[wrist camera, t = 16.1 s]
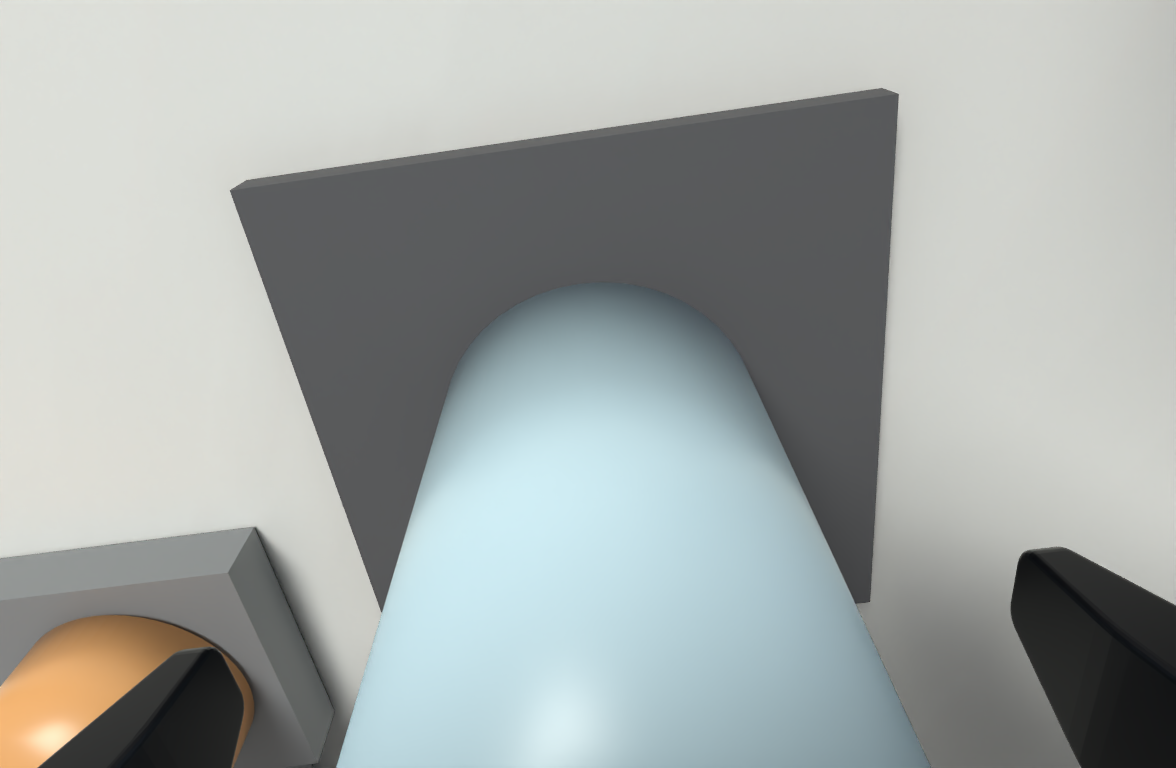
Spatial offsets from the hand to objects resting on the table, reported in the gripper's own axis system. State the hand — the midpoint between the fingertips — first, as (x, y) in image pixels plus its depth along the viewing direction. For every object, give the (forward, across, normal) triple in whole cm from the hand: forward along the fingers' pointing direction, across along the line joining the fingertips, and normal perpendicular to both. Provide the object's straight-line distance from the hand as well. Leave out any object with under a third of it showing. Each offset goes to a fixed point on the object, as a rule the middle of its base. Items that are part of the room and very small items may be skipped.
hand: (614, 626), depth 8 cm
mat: (+5, 0, 0) cm, 5 cm away
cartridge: (+4, 0, 0) cm, 4 cm away
